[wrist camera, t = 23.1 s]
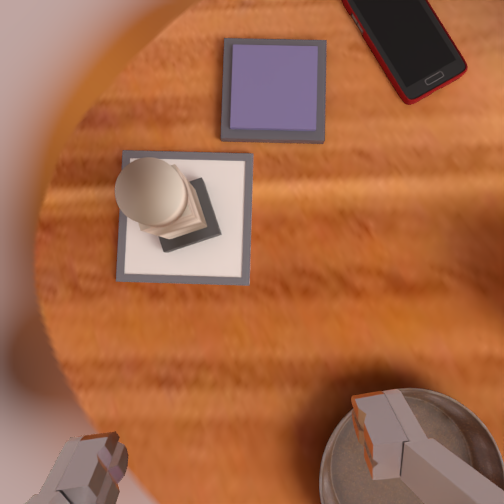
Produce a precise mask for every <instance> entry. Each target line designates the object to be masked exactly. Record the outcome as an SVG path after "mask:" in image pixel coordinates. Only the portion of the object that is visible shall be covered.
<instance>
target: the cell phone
mask: <svg viewBox="0 0 504 504" xmlns="http://www.w3.org/2000/svg"><path fill="white" fill-rule="evenodd" d="M342 2H343V4H344V6H345V8H346V10H347V11H348V13H349V15H351V16H352V18H353V19H354V21H355V22H356V24H357V26H358V27H359V29H360V31H361V32H362V34H363V35H362V36H363V38H364V39H365V41H366V43H367V44H368V46H369V47H370V49H371V51H372V52H373V54H374V56H375V57H376V59H377V61H378V62H379V64H380V65H381V67H382V69H383V70H384V72H385V74H386V75H387V77H388V78H389V80H390V82H391V83H392V85H393V86H394V88H395V90H396V91H397V93H398V95H399V96H400V98H401V99H402V100H403V102H404V103H405V104H407V105H411V104H414V103H416V102H418V101H420V100H421V99H423V98H425V97H427V96H429V95H430V94H432V93H433V92H434V91H436V90H438V89H440V88H443V87H444V86H446V85H448V84H450V83H452V82H453V81H455V80H457V79H458V78H460V77H461V76H462V75H463V74H464V73H465V72H466V71H467V64H466V61H465V59H464V58H463V56H462V55H461V53H460V51H459V50H458V48H457V47H456V45H455V43H454V42H453V40H452V39H451V37H450V35H449V34H448V32H447V31H446V29H445V27H444V26H443V24H442V23H441V21H440V20H439V18H438V16H437V15H436V13H435V12H434V10H433V8H432V7H431V5H430V4H429V2H428V0H342Z"/></svg>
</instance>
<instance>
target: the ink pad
mask: <svg viewBox="0 0 504 504" xmlns="http://www.w3.org/2000/svg"><path fill="white" fill-rule="evenodd" d="M326 41H327V40H291V39H241V38H224V61H223V90H222V118H221V141H229V142H270V143H311V144H323V143H324V141H325V94H326Z"/></svg>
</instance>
